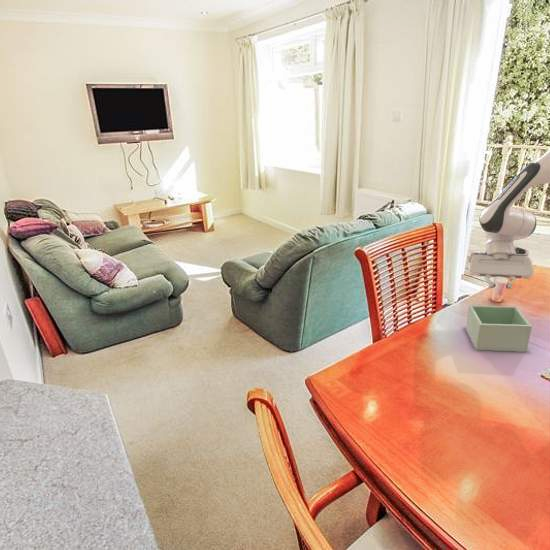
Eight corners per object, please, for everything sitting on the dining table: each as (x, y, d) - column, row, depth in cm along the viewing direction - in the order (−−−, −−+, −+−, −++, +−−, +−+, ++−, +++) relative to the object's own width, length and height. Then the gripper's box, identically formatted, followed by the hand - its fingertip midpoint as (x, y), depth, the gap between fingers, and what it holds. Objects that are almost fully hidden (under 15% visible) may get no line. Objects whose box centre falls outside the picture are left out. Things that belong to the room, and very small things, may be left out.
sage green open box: (511, 330, 120) (516, 306, 116) (526, 351, 109) (532, 326, 106) (465, 328, 122) (469, 305, 119) (475, 349, 112) (479, 324, 109)
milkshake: (504, 304, 134) (510, 279, 130) (487, 300, 137) (493, 275, 133) (507, 300, 137) (513, 275, 133) (491, 295, 140) (496, 271, 136)
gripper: (469, 248, 139) (469, 283, 135) (533, 250, 133) (535, 287, 128) (467, 255, 145) (466, 288, 141) (528, 257, 138) (529, 292, 134)
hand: (500, 288), depth 134 cm, fingers closed on milkshake, 4 cm apart
